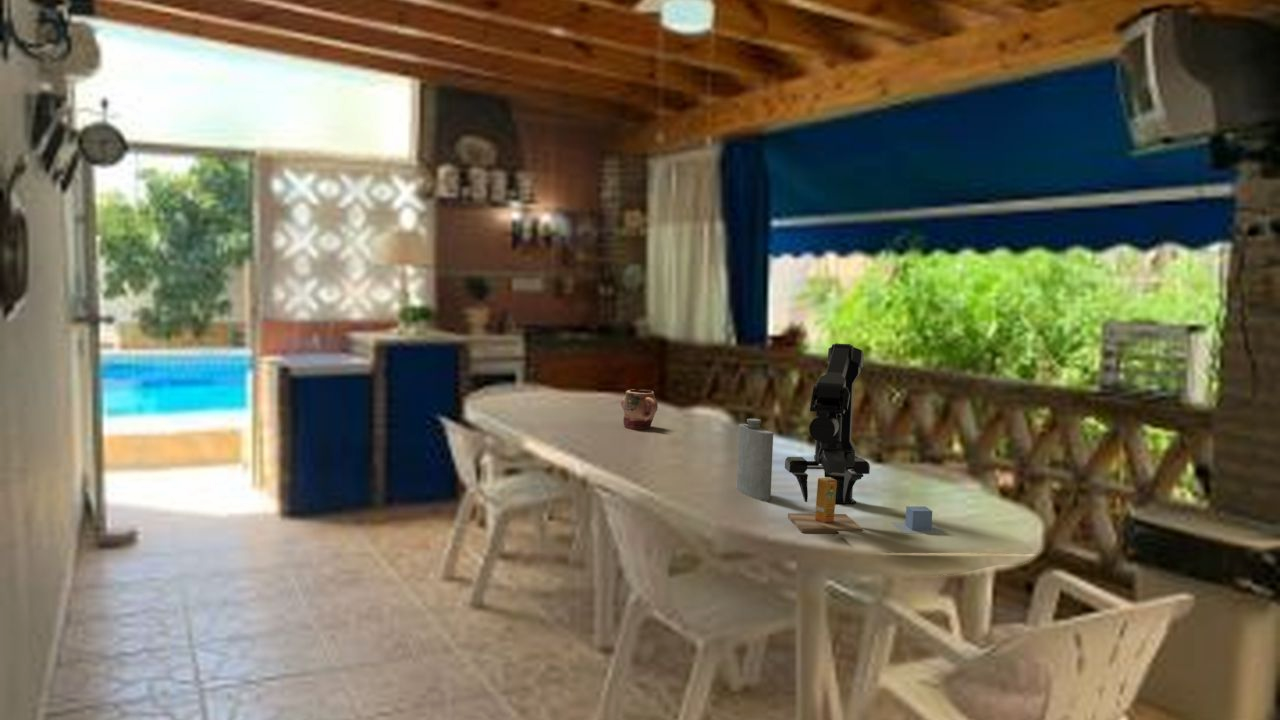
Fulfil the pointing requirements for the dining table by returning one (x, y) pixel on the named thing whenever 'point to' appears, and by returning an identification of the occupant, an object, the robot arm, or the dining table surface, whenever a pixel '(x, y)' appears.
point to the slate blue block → (918, 518)
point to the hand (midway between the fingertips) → (825, 501)
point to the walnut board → (810, 525)
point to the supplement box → (825, 499)
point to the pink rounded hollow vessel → (639, 408)
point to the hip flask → (754, 460)
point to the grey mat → (906, 530)
